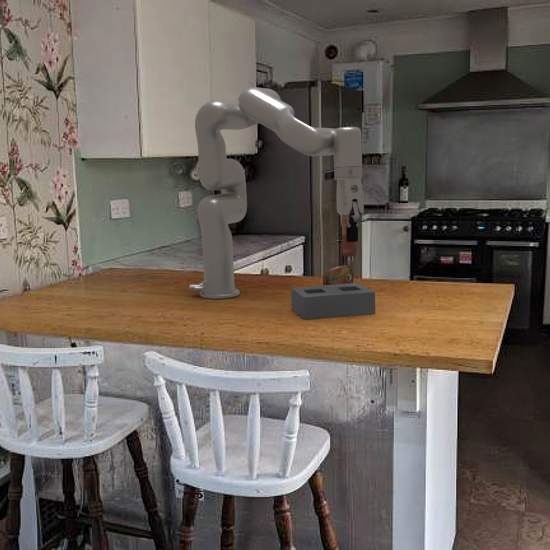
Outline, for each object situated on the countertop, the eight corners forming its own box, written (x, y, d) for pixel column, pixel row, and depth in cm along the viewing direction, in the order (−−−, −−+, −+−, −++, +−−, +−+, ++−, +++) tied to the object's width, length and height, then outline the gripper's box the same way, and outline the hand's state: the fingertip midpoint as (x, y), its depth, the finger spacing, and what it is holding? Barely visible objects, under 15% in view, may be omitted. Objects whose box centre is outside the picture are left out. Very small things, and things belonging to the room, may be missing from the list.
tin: (329, 298, 211) (329, 270, 209) (321, 297, 212) (320, 270, 211) (354, 289, 222) (354, 263, 221) (345, 288, 224) (345, 263, 223)
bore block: (304, 319, 185) (303, 297, 184) (291, 308, 198) (291, 287, 197) (375, 313, 189) (375, 292, 188) (358, 303, 202) (357, 282, 201)
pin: (345, 256, 189) (344, 213, 187) (340, 255, 193) (339, 211, 191) (359, 255, 190) (358, 212, 188) (354, 254, 194) (353, 211, 192)
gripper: (372, 173, 181) (373, 243, 184) (351, 172, 197) (352, 236, 200) (344, 174, 179) (346, 245, 182) (326, 173, 195) (327, 238, 198)
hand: (349, 240), depth 191 cm, fingers closed on pin, 4 cm apart
